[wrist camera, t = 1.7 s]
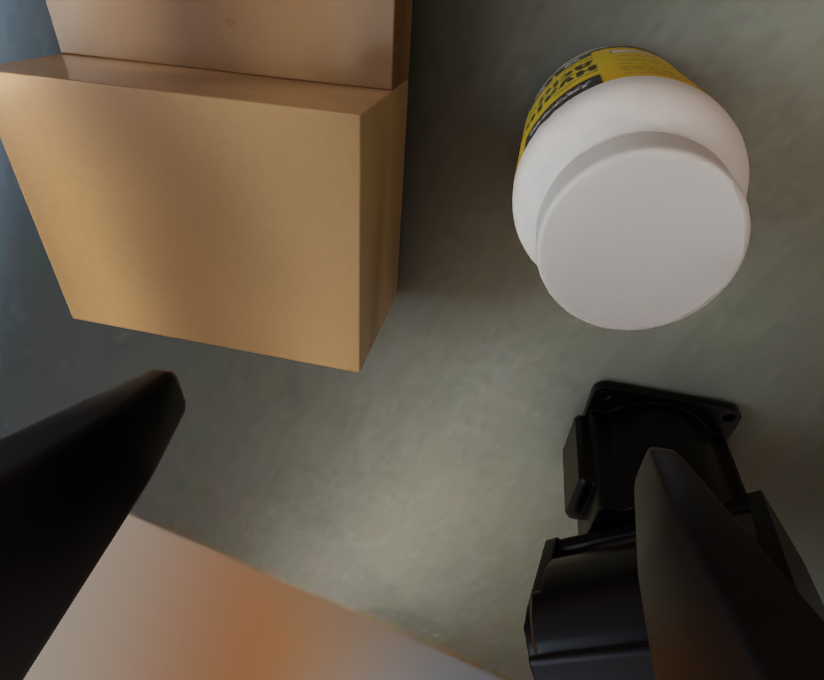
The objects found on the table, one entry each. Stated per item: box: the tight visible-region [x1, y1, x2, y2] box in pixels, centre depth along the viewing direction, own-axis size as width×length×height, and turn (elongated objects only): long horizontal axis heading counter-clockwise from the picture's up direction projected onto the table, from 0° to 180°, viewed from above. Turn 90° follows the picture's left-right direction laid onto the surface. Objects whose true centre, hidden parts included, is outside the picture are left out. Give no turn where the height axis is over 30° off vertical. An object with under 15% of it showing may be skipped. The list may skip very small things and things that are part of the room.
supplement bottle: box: [512, 45, 751, 330], centre depth 14 cm, size 5×5×10 cm
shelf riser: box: [0, 0, 413, 373], centre depth 17 cm, size 12×16×6 cm
